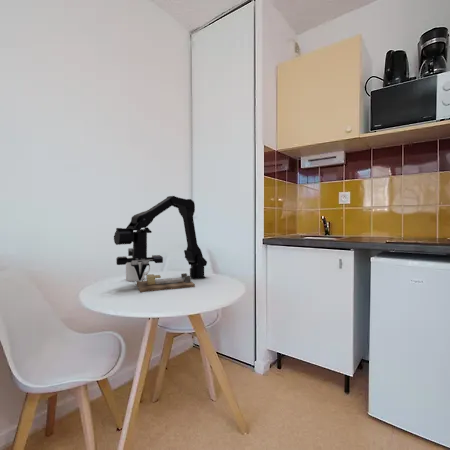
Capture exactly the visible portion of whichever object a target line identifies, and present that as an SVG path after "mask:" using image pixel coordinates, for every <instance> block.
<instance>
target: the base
mask: <svg viewBox="0 0 450 450" xmlns="http://www.w3.org/2000/svg"><path fill="white" fill-rule="evenodd" d="M180 277H185V282H175V283H164V284H152V285H148V284H147V280H142V281H136V285H137V286H136V287H137V288H138V291H139V293H148V292H157V291H158V292H159V291H165V290H166V291H167V290H176V289H187V288H195V287H196V285H195V283H193V282H192V281H191V280H192V278H191V276H190V275H188V273H187V272H186V273H181V276H180Z"/></svg>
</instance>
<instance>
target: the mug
mask: <svg viewBox="0 0 450 450" xmlns="http://www.w3.org/2000/svg"><path fill="white" fill-rule="evenodd" d="M128 258H133V257H132V256H128ZM141 263H142V262H138V264H139V271H140V269H141ZM150 269H151V264H150V263H149V265H148V270H147V271H144V273H143V276H142V278H141V280H142V281H145V280H144V279H145V276H147V275H149V273H150ZM125 279H126V281H127V282H131V281H136V282H139V281H141V280H139V279H138V276H137V273H136V270H135V268H134V266H131V262H128V263H126V264H125Z"/></svg>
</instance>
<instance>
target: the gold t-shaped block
mask: <svg viewBox="0 0 450 450" xmlns="http://www.w3.org/2000/svg"><path fill="white" fill-rule="evenodd" d="M155 279H162V278H161V275H160V274H153V273H151V274H147V275H146V281H147V284H148V285H152V284H155Z"/></svg>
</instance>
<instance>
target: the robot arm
mask: <svg viewBox="0 0 450 450" xmlns="http://www.w3.org/2000/svg"><path fill="white" fill-rule="evenodd" d="M195 205H196V204H195V201H194V200H192V199H191V198H187V199H186V198H181V197H178V196H175V195H169V196H166V198H165V199H162V200H161V201H160V202H158V203H157V204H155V205H154V206H152V207H150V208H149V209H147V210H145V211H142V212H139V213H137V214H134V215H132V216H131V218H130V220H131V221H130V222H129V223H128V225H127V227H126V228H123V227H116V228H115V229H116V230H115V231H114V236H113V242H114V244H115V245H116V246H118V245H119V246H120V245H131V244H132V247H131V248H128V249H127V251H128V252H127V254H128V255H127V256H126V255H125V256H117V257H116V259H115V260H116V261H115V262H116V265H117V266H120V265H121V266H126V263H128V262H131V266H134V268H135V270H136V273H137V276H138V279H139V280H141V278H142V276H143V273H144V272H146V269H147V266H148V267H149V264H150V262H154V263H155V264H162V263H163V262H164V257H163V256H162V255H160V254H159V255H158V254H156V255H154V254H152V255H151V257H150V256H149V257H148V234H151V233H152V232H153V231H152V230H151V229H150V228H149V227H148V226H150V224H152V222H153V221H154V219H155V218H156V217H158V216H159V215H160V214H162V213H164V212H165V211H167V210H168V209H169V208H171V207H174V208H176V209H178V212H179V215H180V216H181V217H182V219H183V227H184V233H185V238H186V245H187V247H186V249H184V251H183V253H184V258H185V259H186V261H187V263H188V265H189V266H190V268H189V276H191V279H193V280H194V279H195V280H196V279H206V276H205V267H206V266H207V264H208V261H207V259H205V257H204V256H203V252H202V250H201V248H200V247H199V245H198V241H197V233H196V229H195V223H194V215H195V213H196V208H195V207H196V206H195ZM129 257H133V258H129ZM138 262H142V263H141V269H140V271H139V264H138Z"/></svg>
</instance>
